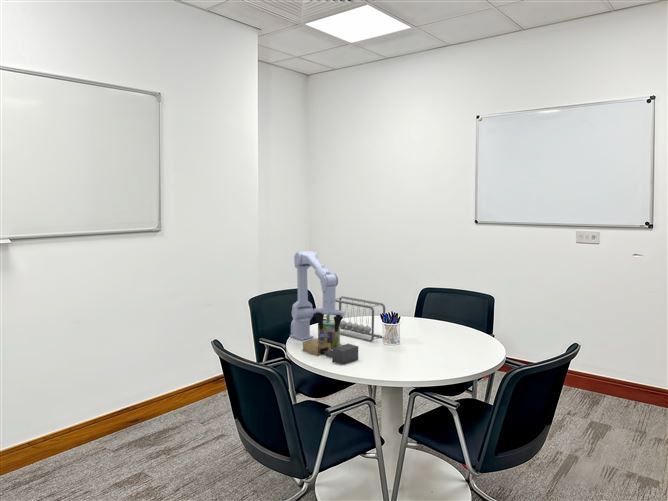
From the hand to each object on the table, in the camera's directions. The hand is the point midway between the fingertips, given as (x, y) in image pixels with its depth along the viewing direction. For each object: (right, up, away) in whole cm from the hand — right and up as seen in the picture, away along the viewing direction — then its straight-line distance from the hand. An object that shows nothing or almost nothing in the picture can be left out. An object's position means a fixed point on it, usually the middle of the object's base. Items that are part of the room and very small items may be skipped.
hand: (328, 330), depth 231 cm
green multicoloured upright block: (0, -9, +12) cm, 15 cm away
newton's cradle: (+13, -8, +31) cm, 35 cm away
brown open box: (-6, -10, +2) cm, 12 cm away
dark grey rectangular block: (+5, -11, -8) cm, 15 cm away
